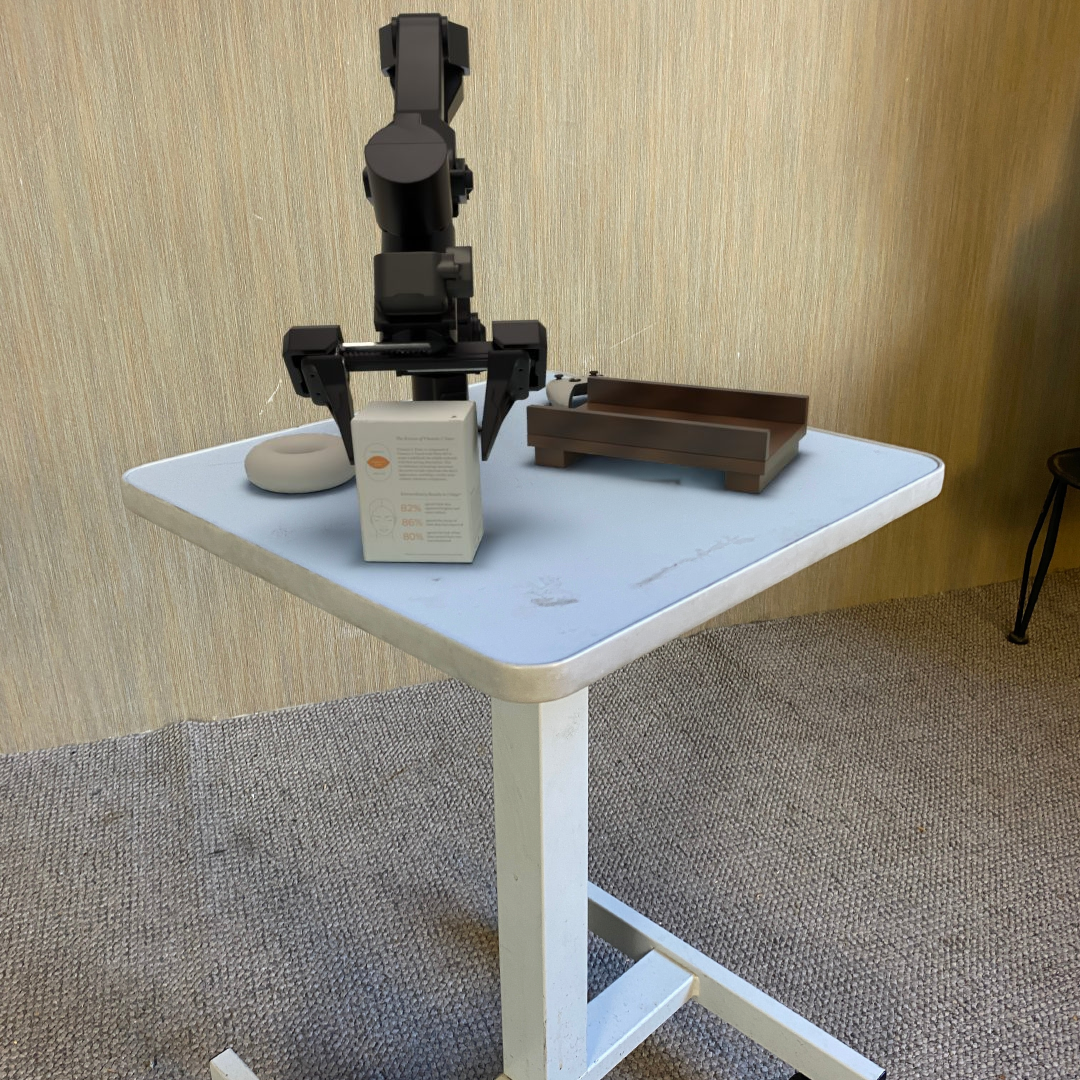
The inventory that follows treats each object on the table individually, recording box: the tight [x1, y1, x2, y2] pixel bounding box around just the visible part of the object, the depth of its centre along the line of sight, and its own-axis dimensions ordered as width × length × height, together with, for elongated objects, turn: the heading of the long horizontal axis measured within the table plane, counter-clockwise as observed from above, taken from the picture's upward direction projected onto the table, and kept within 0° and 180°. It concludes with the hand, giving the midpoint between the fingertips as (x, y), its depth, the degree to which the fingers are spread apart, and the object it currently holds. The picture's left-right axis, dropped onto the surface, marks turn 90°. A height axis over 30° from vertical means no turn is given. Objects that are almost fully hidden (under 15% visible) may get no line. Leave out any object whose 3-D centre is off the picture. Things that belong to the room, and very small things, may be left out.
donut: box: [243, 432, 356, 494], centre depth 92 cm, size 10×4×10 cm
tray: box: [525, 376, 810, 495], centre depth 96 cm, size 22×14×6 cm, turn 63°
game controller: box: [545, 370, 606, 409], centre depth 117 cm, size 10×5×6 cm
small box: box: [351, 400, 484, 563], centre depth 75 cm, size 8×6×10 cm
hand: (418, 460), depth 73 cm, fingers open, 9 cm apart
